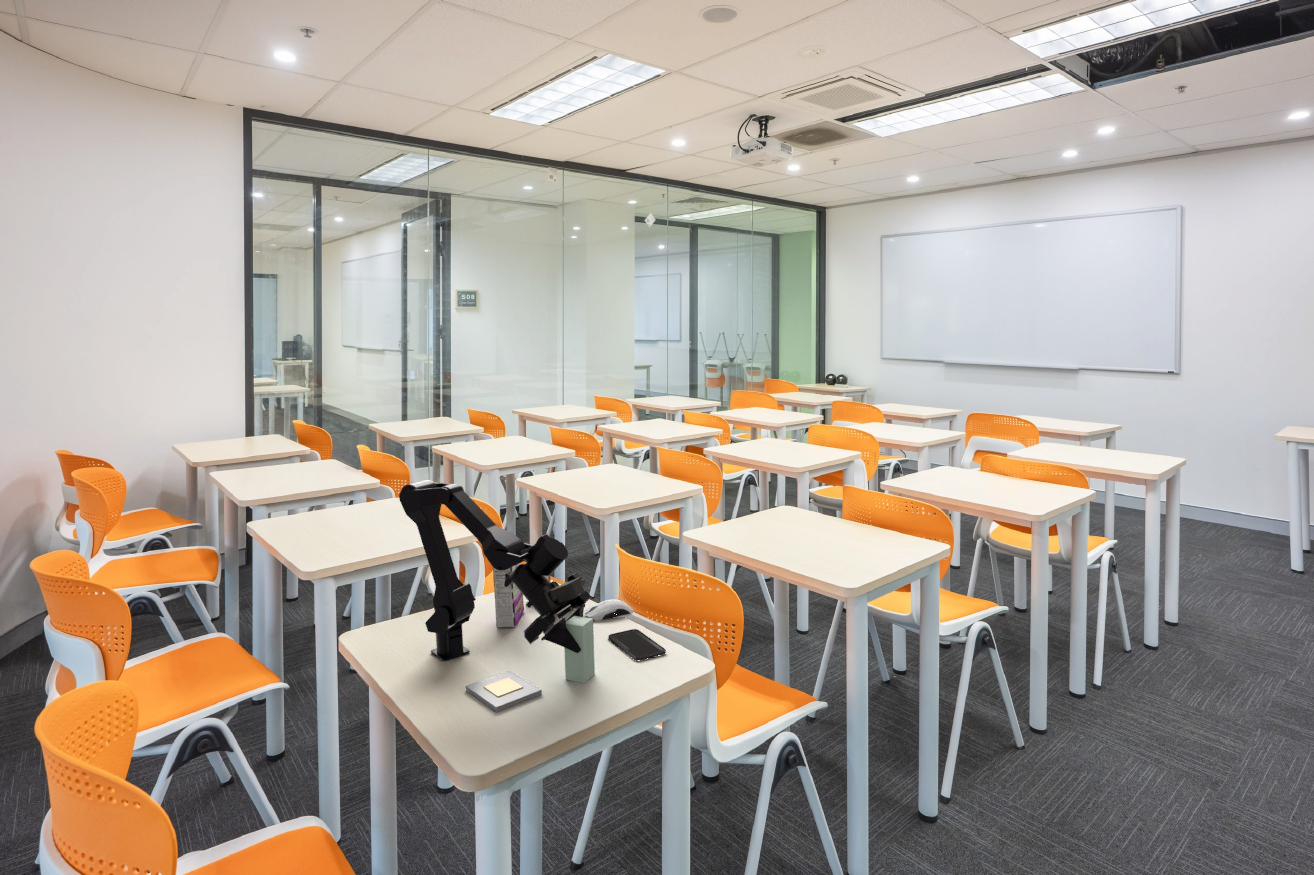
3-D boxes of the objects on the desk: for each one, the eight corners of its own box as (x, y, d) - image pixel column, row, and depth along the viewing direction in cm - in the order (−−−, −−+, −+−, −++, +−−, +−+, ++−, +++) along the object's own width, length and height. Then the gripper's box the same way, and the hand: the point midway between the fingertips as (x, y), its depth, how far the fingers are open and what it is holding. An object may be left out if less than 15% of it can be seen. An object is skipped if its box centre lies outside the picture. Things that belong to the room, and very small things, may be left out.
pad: (465, 690, 145) (465, 684, 145) (510, 674, 152) (509, 669, 152) (496, 712, 136) (496, 706, 136) (541, 694, 143) (541, 688, 143)
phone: (636, 628, 173) (667, 650, 160) (636, 632, 173) (667, 655, 160) (606, 635, 170) (635, 658, 156) (606, 640, 170) (635, 663, 157)
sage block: (565, 679, 149) (563, 623, 147) (576, 670, 153) (574, 615, 152) (584, 683, 147) (582, 626, 146) (594, 674, 151) (593, 618, 150)
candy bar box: (505, 611, 188) (502, 549, 186) (524, 611, 188) (521, 549, 186) (494, 628, 177) (491, 563, 175) (515, 628, 177) (512, 562, 175)
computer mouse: (639, 618, 183) (639, 602, 182) (569, 630, 176) (569, 614, 175) (624, 605, 192) (624, 590, 192) (557, 617, 185) (557, 601, 184)
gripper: (534, 578, 140) (587, 641, 137) (581, 552, 157) (629, 608, 154) (502, 613, 144) (552, 674, 141) (551, 584, 161) (597, 638, 158)
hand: (585, 647), depth 149 cm, fingers closed on sage block, 4 cm apart
